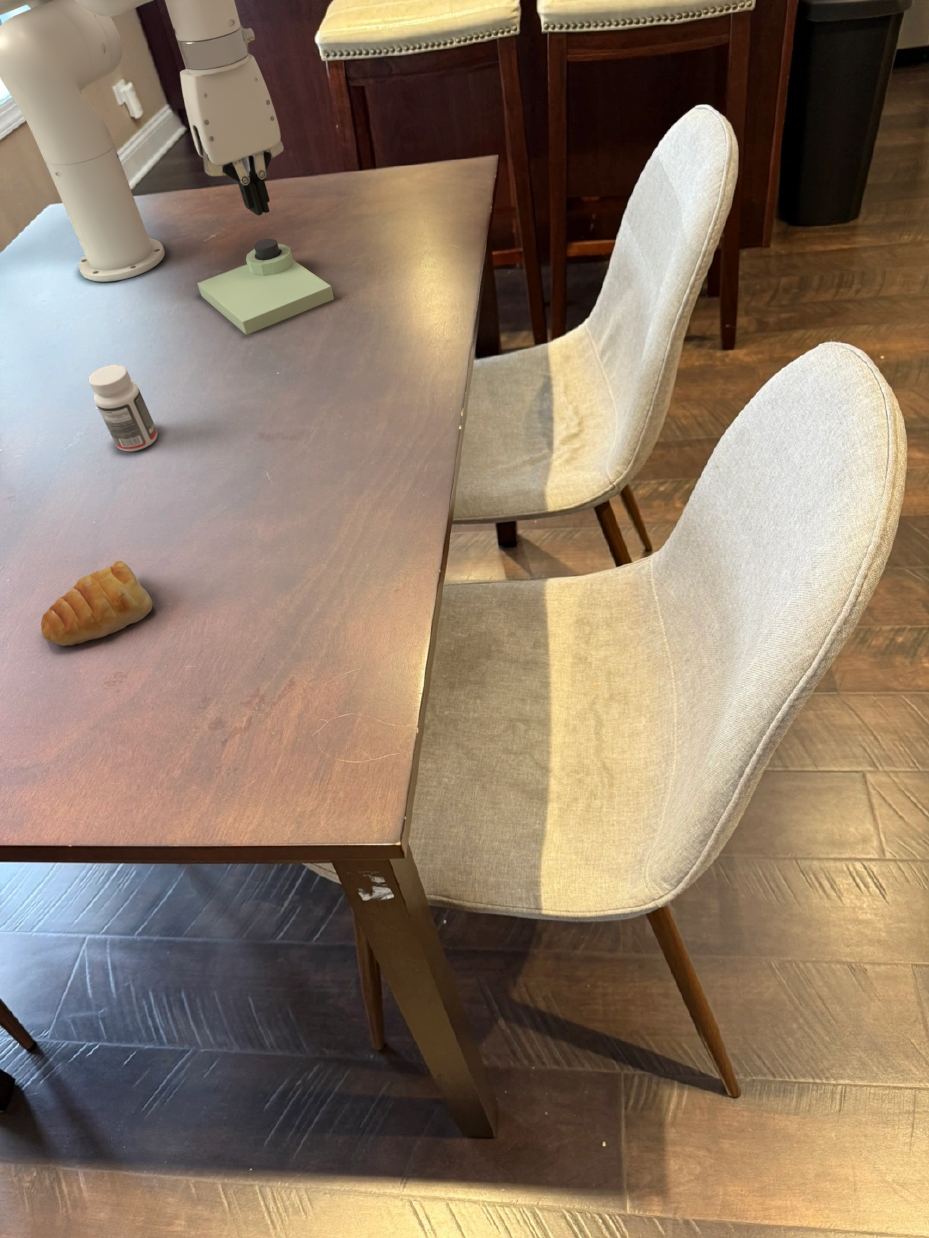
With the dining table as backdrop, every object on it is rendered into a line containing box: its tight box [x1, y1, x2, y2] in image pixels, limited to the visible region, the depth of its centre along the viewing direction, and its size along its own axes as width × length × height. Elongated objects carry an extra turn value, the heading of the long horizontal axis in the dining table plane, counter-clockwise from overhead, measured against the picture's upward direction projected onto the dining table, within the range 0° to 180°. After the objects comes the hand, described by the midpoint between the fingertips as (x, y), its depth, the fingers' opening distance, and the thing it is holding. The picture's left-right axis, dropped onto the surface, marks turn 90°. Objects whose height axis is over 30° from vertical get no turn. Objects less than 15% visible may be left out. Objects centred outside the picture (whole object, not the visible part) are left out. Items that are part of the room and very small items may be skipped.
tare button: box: [253, 238, 280, 260], centre depth 118 cm, size 3×3×2 cm
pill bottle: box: [88, 364, 158, 452], centre depth 94 cm, size 5×5×8 cm
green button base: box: [196, 243, 335, 336], centre depth 116 cm, size 15×13×4 cm
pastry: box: [40, 560, 153, 646], centre depth 76 cm, size 9×7×4 cm
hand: (259, 211), depth 114 cm, fingers closed
